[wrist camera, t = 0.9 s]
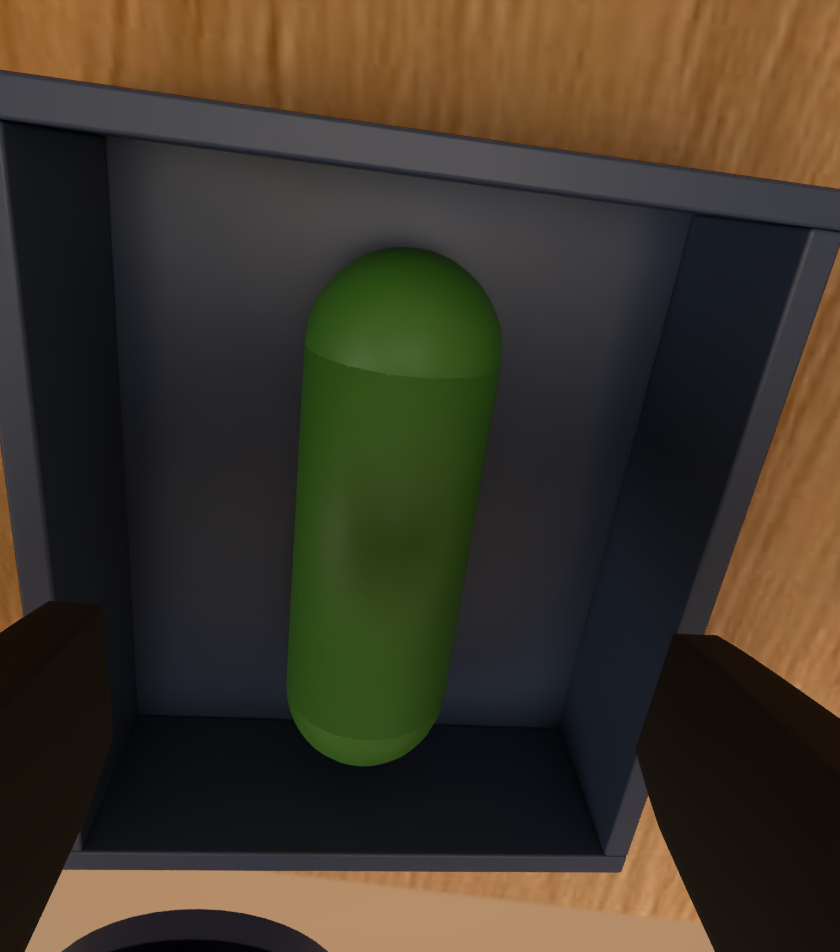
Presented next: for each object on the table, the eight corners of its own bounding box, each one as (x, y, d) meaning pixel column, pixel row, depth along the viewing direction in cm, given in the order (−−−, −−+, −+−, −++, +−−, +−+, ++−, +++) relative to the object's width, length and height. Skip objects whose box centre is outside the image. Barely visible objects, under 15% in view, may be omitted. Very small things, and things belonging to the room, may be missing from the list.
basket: (567, 728, 18) (621, 873, 14) (123, 714, 16) (55, 871, 13) (713, 186, 12) (860, 191, 9) (82, 98, 11) (-53, 62, 7)
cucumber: (427, 690, 16) (442, 805, 13) (290, 685, 16) (274, 802, 13) (497, 249, 12) (541, 274, 9) (316, 227, 12) (301, 245, 9)
